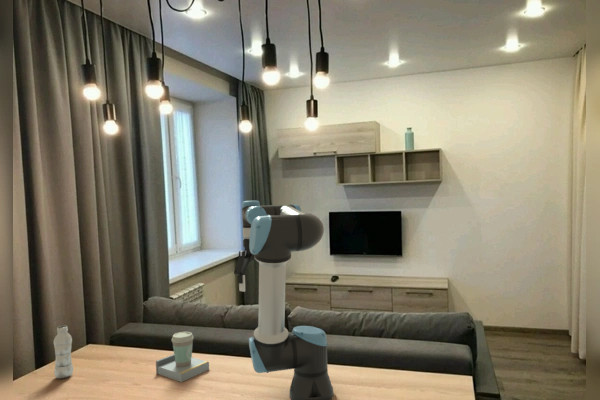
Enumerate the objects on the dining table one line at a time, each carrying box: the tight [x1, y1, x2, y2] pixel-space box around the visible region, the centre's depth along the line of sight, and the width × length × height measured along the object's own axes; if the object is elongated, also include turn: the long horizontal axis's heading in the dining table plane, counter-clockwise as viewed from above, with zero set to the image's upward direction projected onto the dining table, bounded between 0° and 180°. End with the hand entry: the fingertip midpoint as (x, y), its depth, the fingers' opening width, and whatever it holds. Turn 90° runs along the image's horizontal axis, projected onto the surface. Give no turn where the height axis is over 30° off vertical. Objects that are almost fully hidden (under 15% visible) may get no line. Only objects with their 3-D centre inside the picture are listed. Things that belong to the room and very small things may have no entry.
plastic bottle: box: [53, 325, 74, 380], centre depth 176 cm, size 6×7×20 cm
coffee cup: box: [170, 331, 194, 367], centre depth 178 cm, size 8×9×12 cm
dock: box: [155, 353, 210, 383], centre depth 178 cm, size 15×14×5 cm
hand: (253, 288), depth 187 cm, fingers open, 13 cm apart
